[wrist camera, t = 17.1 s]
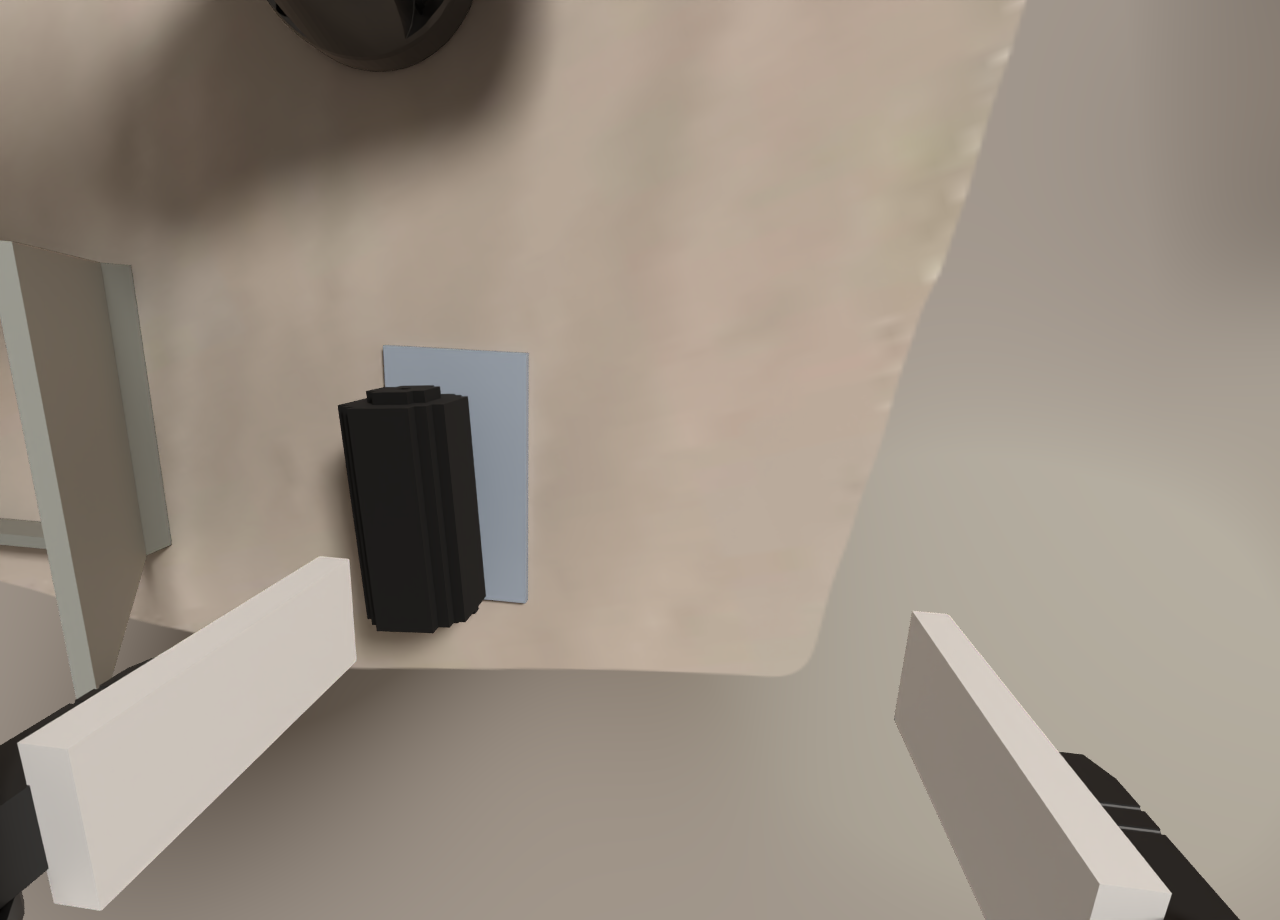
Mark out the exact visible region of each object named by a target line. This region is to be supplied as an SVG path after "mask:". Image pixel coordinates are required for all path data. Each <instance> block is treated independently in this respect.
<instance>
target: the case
mask: <svg viewBox="0 0 1280 920" xmlns="http://www.w3.org/2000/svg"><path fill="white" fill-rule="evenodd" d="M0 318H1V323H2V328H3V333H4V338H5V343H6V348H7V353H8V358H9V363H10V368H11V374H12V379H13V384H14V389H15V394H16V399H17V404H18V409H19V414H20V419H21V424H22V429H23V434H24V439H25V444H26V449H27V454H28V459H29V464H30V469H31V474H32V479H33V484H34V489H35V494H36V499H37V504H38V509H39V514H40V519H41V522H37V521H26V520H15V519H4V518H0V545H9V546H20V547H30V548H41V549H47V554H48V559H49V564H50V569H51V574H52V579H53V584H54V589H55V594H56V599H57V605H58V609H59V614H60V619H61V625H62V630H63V634H64V640H65V645H66V650H67V655H68V660H69V665H70V670H71V675H72V680H73V685H74V690H75V695H76V699H78V698H79V697H81V696H83V695H84V694H86V693H88V692H89V691H91V690H93V689H98V688H99V685H101V684H102V683H104V682H106V681H107V680H109V679H111V678H112V676H113V672H114V668H115V665H116V662H117V658H118V655H119V651H120V648H121V644H122V641H123V637H124V634H125V630H126V627H127V623H128V620H129V617H130V613H131V610H132V606H133V603H134V599H135V596H136V592H137V589H138V585H139V582H140V578H141V575H142V571H143V568H144V564H145V561H146V557H147V556H146V555H148V554H151V553H153V552H155V551H158V550H160V549H162V548H165V547H167V546H169V545H172V543H171V536H170V529H169V522H168V515H167V509H166V502H165V495H164V488H163V481H162V474H161V468H160V461H159V454H158V447H157V440H156V433H155V426H154V420H153V413H152V406H151V399H150V392H149V385H148V379H147V372H146V365H145V358H144V351H143V344H142V338H141V331H140V324H139V317H138V310H137V303H136V297H135V290H134V283H133V276H132V269H131V265H121V264H109V263H100V262H96V261H92V260H87V259H83V258H79V257H75V256H71V255H67V254H62V253H58V252H54V251H50V250H46V249H42V248H37V247H33V246H29V245H25V244H21V243H17V242H12V241H0Z"/></svg>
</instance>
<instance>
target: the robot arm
mask: <svg viewBox="0 0 1280 920" xmlns="http://www.w3.org/2000/svg"><path fill="white" fill-rule="evenodd" d="M267 1H268V2H269V4H270V5H271V7H272V8H273V9H274V10H275V12H276V13H277V14H278V16H279V17H280V18H281V19H282V20H283V21H284V22H285V23H286V24H287V25H288V26H289V27H290V28H291V29H292V30H293V31H294V32H295V33H296V34H298V35H299V36H300V37H301V38H303V39H304V40H305V41H307V42H308V43H309V44H311V45H312V46H314V47H315V48H317V49H318V50H320V51H321V52H323V53H324V54H326V55H327V56H329V57H330V58H332V59H334V60H336V61H338V62H340V63H342V64H345V65H347V66H350V67H353V68H357V69H361V70H368V71H391V70H397V69H401V68H405V67H408V66H411V65H413V64H416V63H418V62H420V61H422V60H424V59H425V58H427V57H428V56H430V55H432V54H433V53H434V52H436V51H437V50H438V49H439V48H440V47H441V46H443V45H444V44H445V43H446V42H447V41H448V40H449V39H450V37H451V36H452V35H453V34H454V33H455V31H456V30H457V29H458V27H459V26H460V24H461V23H462V21H463V19H464V18H465V16H466V14H467V12H468V10H469V8H470V6H471V4H472V1H473V0H267ZM356 661H357V659H356V645H355V631H354V618H353V604H352V590H351V576H350V562H349V559H345V558H334V557H323V556H319V557H317V558H316V559H314V560H312V561H311V562H309V563H308V564H306V565H304V566H303V567H301V568H299V569H298V570H296V571H295V572H293V573H291V574H290V575H288V576H287V577H285V578H283V579H282V580H280V581H278V582H277V583H275V584H274V585H272V586H270V587H269V588H267V589H265V590H264V591H262V592H261V593H259V594H257V595H256V596H254V597H253V598H251V599H249V600H248V601H246V602H244V603H243V604H241V605H240V606H238V607H236V608H235V609H233V610H231V611H230V612H228V613H227V614H225V615H223V616H222V617H220V618H219V619H217V620H215V621H214V622H212V623H210V624H209V625H207V626H206V627H204V628H202V629H201V630H199V631H197V632H196V633H194V634H193V635H191V636H189V637H188V638H186V639H185V640H183V641H181V642H180V643H178V644H176V645H175V646H173V647H172V648H170V649H168V650H167V651H165V652H164V653H162V654H160V655H159V656H156V657H154V658H151V659H149V660H146V661H144V662H142V663H139V664H137V665H134V666H132V667H129V668H127V669H126V670H124V671H122V672H121V673H119V674H117V675H116V676H114V677H112V678H111V679H109V680H107V681H106V682H104V683H102V684H101V685H99V688H98V689H93V690H91V691H89V692H88V693H86V694H84V695H83V696H81V697H79V698H78V699H76V700H75V703H74V704H68V705H66V706H65V707H63V708H61V709H60V710H58V711H56V712H55V713H53V714H51V715H50V716H48V717H46V718H45V719H43V720H41V721H40V722H38V723H37V724H35V725H33V726H32V727H30V728H29V729H27V730H25V731H23V732H22V733H20V734H18V735H17V736H15V737H14V738H12V739H10V740H9V741H7V742H5V743H4V744H2V745H0V920H22V919H23V916H24V899H23V895H22V890H24V889H25V888H26V887H27V886H28V885H30V883H32V882H33V881H34V880H36V879H37V878H38V877H39V876H40V875H42V874H43V873H44V872H45V871H46V870H47V874H48V879H49V883H50V887H51V891H52V896H53V900H54V903H56V904H62V905H68V906H75V907H80V908H87V909H93V910H100V911H101V910H102V909H103V908H105V907H106V906H107V905H108V904H109V903H110V902H111V901H112V900H113V899H114V898H115V897H116V896H117V895H118V894H119V893H120V892H121V891H122V890H123V889H124V888H125V887H126V886H127V885H128V884H129V883H130V882H131V881H132V880H133V879H134V878H135V877H136V876H137V875H138V874H139V873H140V872H141V871H142V870H143V869H144V868H145V867H146V866H147V865H148V864H149V863H150V862H151V861H153V860H154V859H155V858H156V857H157V856H158V855H159V854H160V853H161V852H162V851H163V850H164V849H165V848H166V847H167V846H168V845H169V844H170V843H171V842H172V841H173V840H174V839H175V838H176V837H177V836H178V835H179V834H180V833H181V832H182V831H183V830H184V829H185V828H186V827H187V826H188V825H189V824H190V823H191V822H192V821H193V820H194V819H195V818H196V817H197V816H198V815H200V813H201V812H202V811H204V809H206V808H207V807H208V806H209V805H210V804H211V803H212V802H213V801H214V800H215V799H216V798H217V797H218V796H219V795H220V794H221V793H222V792H223V791H224V790H225V789H226V788H227V787H228V786H229V785H230V784H231V783H232V782H233V781H234V780H235V779H236V778H237V777H238V776H239V775H240V774H241V773H242V772H243V771H244V770H245V769H246V768H248V767H249V765H251V764H252V763H253V762H254V761H255V760H256V759H257V758H258V757H259V756H260V755H261V754H262V753H263V752H264V751H265V750H266V749H267V748H268V747H269V746H270V745H271V744H272V743H273V742H274V741H275V740H276V739H277V738H278V737H279V736H280V735H281V734H282V733H283V732H284V731H285V730H286V729H287V728H288V727H289V726H290V725H291V724H292V723H293V722H294V721H296V720H297V718H298V717H300V716H301V715H302V714H303V713H304V712H305V711H306V710H307V709H308V708H309V707H310V706H311V705H312V704H313V703H314V702H315V701H316V700H317V699H318V698H319V697H320V696H321V695H322V694H323V693H324V692H325V691H326V690H327V689H328V688H329V687H330V686H331V685H332V684H333V683H334V682H335V681H336V680H337V679H338V678H339V677H340V676H341V675H342V674H343V673H344V672H345V671H346V670H348V669H349V668H350V667H351V666H352V665H353V664H354V663H355V662H356ZM894 720H895V723H896V725H897V727H898V729H899V731H900V734H901V736H902V738H903V740H904V742H905V744H906V747H907V749H908V751H909V753H910V755H911V757H912V760H913V762H914V764H915V766H916V769H917V771H918V773H919V775H920V777H921V780H922V782H923V784H924V786H925V788H926V790H927V793H928V795H929V797H930V799H931V802H932V804H933V806H934V808H935V810H936V812H937V815H938V817H939V819H940V821H941V823H942V826H943V828H944V830H945V832H946V834H947V837H948V839H949V841H950V843H951V845H952V848H953V850H954V852H955V854H956V856H957V858H958V861H959V863H960V865H961V867H962V869H963V872H964V874H965V876H966V878H967V880H968V883H969V885H970V887H971V889H972V891H973V893H974V896H975V898H976V900H977V902H978V904H979V906H980V909H981V911H982V913H983V915H984V918H985V919H986V920H1240V919H1238V917H1237V916H1236V915H1235V914H1234V913H1233V912H1232V910H1231V909H1230V908H1229V907H1228V906H1227V905H1226V903H1225V902H1224V901H1223V900H1222V899H1221V898H1220V897H1219V896H1218V894H1217V893H1216V892H1215V891H1214V890H1213V889H1212V888H1211V887H1210V885H1209V884H1208V883H1207V882H1206V881H1205V880H1204V878H1203V877H1202V876H1201V875H1200V874H1199V873H1198V872H1197V871H1196V869H1195V868H1194V867H1193V866H1192V865H1191V864H1190V862H1189V861H1188V860H1187V859H1186V858H1185V857H1184V856H1183V854H1182V853H1181V852H1180V851H1179V850H1178V849H1177V848H1176V847H1175V845H1174V844H1173V843H1172V842H1171V841H1170V840H1169V839H1168V837H1167V836H1166V835H1161V832H1160V828H1159V827H1158V826H1157V825H1156V824H1155V823H1154V821H1153V820H1152V819H1151V818H1150V817H1149V816H1148V815H1147V813H1146V812H1144V811H1141V810H1140V806H1139V804H1138V803H1137V802H1136V801H1135V800H1134V799H1133V798H1132V796H1131V795H1130V794H1129V793H1128V792H1127V791H1126V790H1125V788H1124V787H1123V786H1122V785H1121V784H1120V783H1119V782H1118V780H1117V779H1116V778H1114V777H1113V776H1111V775H1110V774H1109V773H1107V772H1106V771H1105V770H1103V769H1102V768H1101V767H1099V766H1098V765H1096V764H1095V763H1094V762H1092V761H1091V760H1090V759H1088V758H1087V757H1086V756H1084V755H1082V754H1073V753H1064V752H1058V751H1057V749H1056V748H1055V747H1054V746H1053V744H1052V743H1051V742H1050V741H1049V739H1048V738H1047V737H1046V736H1045V734H1044V733H1043V732H1042V731H1041V729H1040V728H1039V727H1038V726H1037V724H1036V723H1035V722H1034V721H1033V719H1032V718H1031V717H1030V716H1029V714H1028V713H1027V712H1026V711H1025V709H1024V708H1023V707H1022V706H1021V704H1020V703H1019V702H1018V701H1017V699H1016V698H1015V697H1014V696H1013V694H1012V693H1011V692H1010V691H1009V689H1008V688H1007V687H1006V686H1005V685H1004V683H1003V682H1002V681H1001V679H1000V678H999V677H998V676H997V674H996V673H995V672H994V671H993V669H992V668H991V667H990V666H989V664H988V663H987V662H986V661H985V659H984V658H983V657H982V656H981V654H980V653H979V652H978V651H977V649H976V648H975V647H974V646H973V645H972V643H971V642H970V641H969V639H968V638H967V637H966V636H965V634H964V633H963V632H962V631H961V629H960V628H959V627H958V626H957V624H956V623H955V622H954V621H953V620H952V618H951V617H950V616H949V614H942V613H931V612H920V611H912V615H911V621H910V627H909V633H908V639H907V645H906V651H905V657H904V662H903V668H902V674H901V681H900V686H899V692H898V698H897V704H896V710H895V716H894Z"/></svg>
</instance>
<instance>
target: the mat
mask: <svg viewBox="0 0 1280 920" xmlns="http://www.w3.org/2000/svg"><path fill="white" fill-rule="evenodd" d="M383 354H384V373H385V387H398V386H412V385H434V386H440V390H441V394H455V395H462V396H468V402H469V413H470V424H471V435H472V446H473V457H474V468H475V479H476V491H477V502H478V513H479V524H480V535H481V546H482V557H483V568H484V579H485V590H486V597H485V598H484V599H486V600H497V601H507V602H517V603H526V602H527V600H528V353H519V352H501V351H483V350H465V349H447V348H429V347H411V346H393V345H384V346H383Z"/></svg>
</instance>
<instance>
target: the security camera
mask: <svg viewBox="0 0 1280 920" xmlns="http://www.w3.org/2000/svg"><path fill="white" fill-rule="evenodd" d="M366 394H367V398H366V399H362V400H358V401H353V402H349V403H345V404H341V405H338V411H339V418H340V425H341V432H342V439H343V447H344V454H345V461H346V468H347V475H348V482H349V489H350V497H351V504H352V511H353V518H354V525H355V532H356V539H357V547H358V554H359V561H360V568H361V575H362V582H363V589H364V596H365V604H366V611H367V618H368V619H371V620H372V625H376V628H377V631H390V632H418V633H434V632H435V630H436V629H437V628H438V627H449V628H450V626H451V625H452V624H453V623H458V622H466V621H467V620H468V618H469V617H470V616H471V615H472V614H475V613H476V612H477V611H478V609H479V608H478V606H479V604H480V603H481V602H482V601H483V599H484V598H485V597H486V590H485V579H484V568H483V557H482V546H481V535H480V524H479V513H478V502H477V491H476V479H475V468H474V457H473V446H472V435H471V424H470V413H469V402H468V396H462V395H455V394H441V390H440V386H434V385H412V386H398V387H383V388H379V389H374V390H369V391H366Z"/></svg>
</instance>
